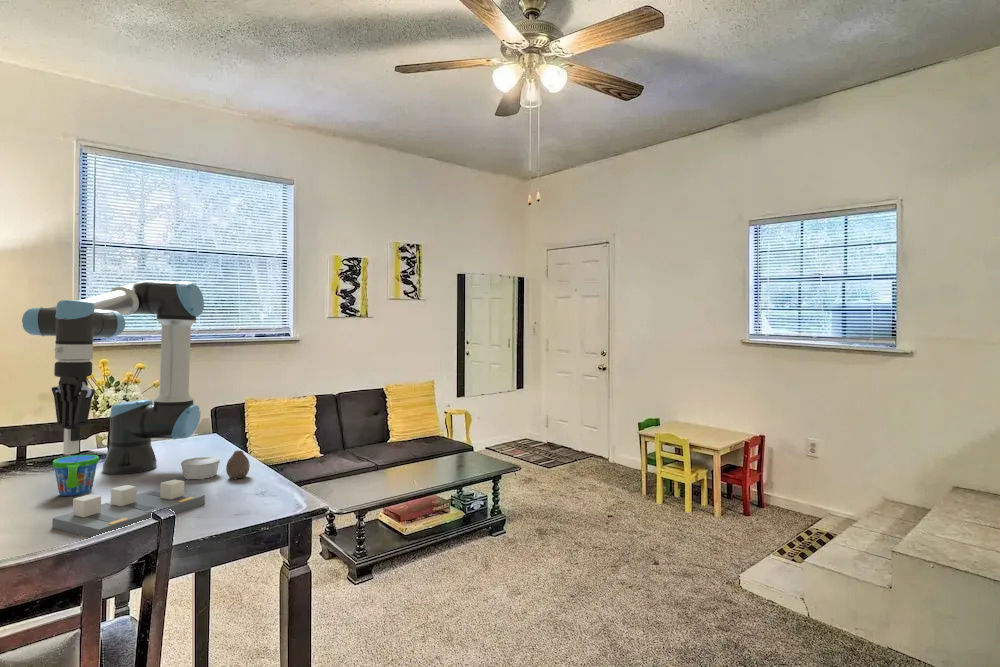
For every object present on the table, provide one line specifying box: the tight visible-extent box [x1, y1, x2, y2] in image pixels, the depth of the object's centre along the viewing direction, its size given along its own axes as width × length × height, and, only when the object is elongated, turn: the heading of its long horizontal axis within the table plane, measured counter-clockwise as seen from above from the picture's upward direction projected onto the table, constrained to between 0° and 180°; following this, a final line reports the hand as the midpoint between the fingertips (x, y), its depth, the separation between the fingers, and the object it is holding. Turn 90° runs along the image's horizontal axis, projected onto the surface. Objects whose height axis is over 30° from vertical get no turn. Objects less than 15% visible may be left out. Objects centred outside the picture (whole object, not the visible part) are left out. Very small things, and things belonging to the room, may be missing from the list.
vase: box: [225, 450, 251, 479], centre depth 175 cm, size 7×7×9 cm
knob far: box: [159, 478, 185, 500], centre depth 147 cm, size 4×4×4 cm
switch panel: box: [51, 487, 206, 538], centre depth 139 cm, size 17×28×3 cm, turn 159°
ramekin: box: [180, 456, 221, 480], centre depth 175 cm, size 11×11×5 cm
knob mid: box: [110, 484, 138, 506], centre depth 140 cm, size 4×4×4 cm
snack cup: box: [52, 454, 100, 497], centre depth 155 cm, size 16×10×10 cm
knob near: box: [72, 493, 102, 517], centre depth 132 cm, size 4×4×4 cm
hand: (71, 453), depth 135 cm, fingers closed
